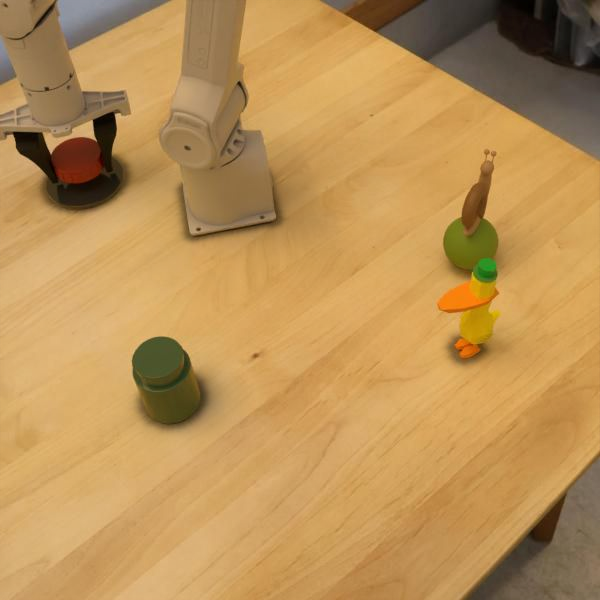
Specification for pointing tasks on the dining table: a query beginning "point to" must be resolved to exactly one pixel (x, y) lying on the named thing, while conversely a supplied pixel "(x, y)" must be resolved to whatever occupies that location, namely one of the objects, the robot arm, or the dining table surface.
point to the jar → (165, 380)
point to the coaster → (87, 189)
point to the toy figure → (474, 307)
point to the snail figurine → (473, 225)
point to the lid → (77, 160)
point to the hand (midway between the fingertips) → (82, 172)
